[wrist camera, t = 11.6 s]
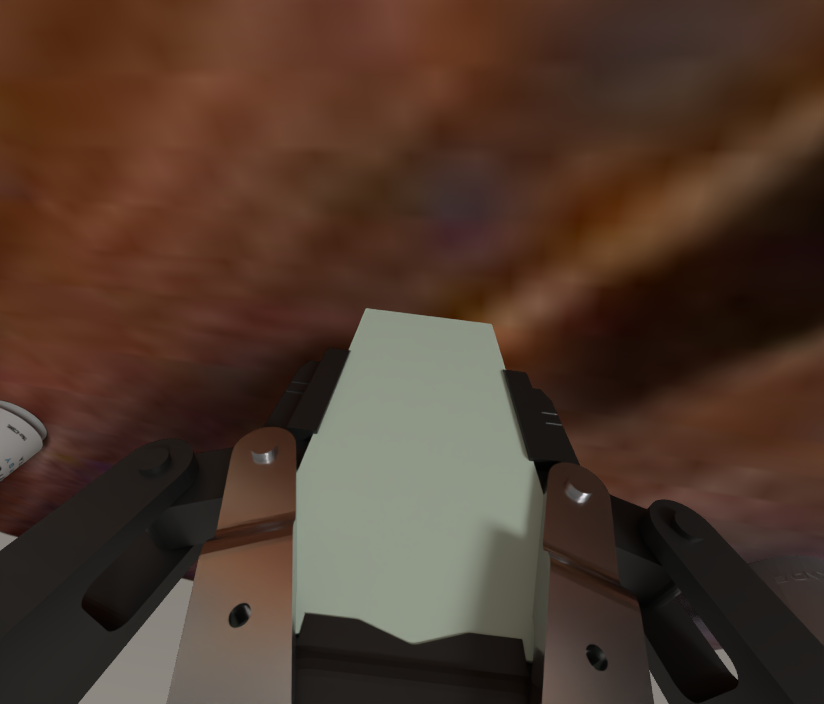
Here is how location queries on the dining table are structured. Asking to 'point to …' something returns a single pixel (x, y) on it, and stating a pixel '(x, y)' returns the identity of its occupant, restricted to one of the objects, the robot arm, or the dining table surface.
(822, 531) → the dining table surface
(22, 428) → the energy drink can
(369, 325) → the domino
